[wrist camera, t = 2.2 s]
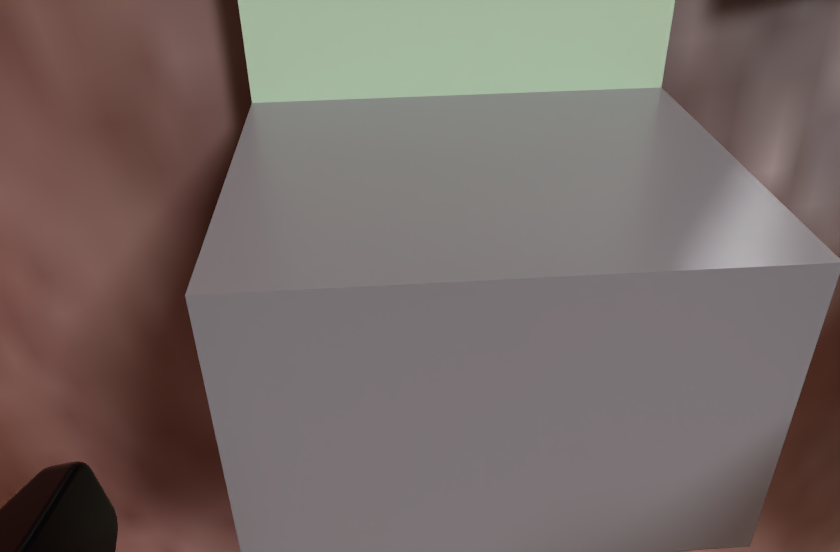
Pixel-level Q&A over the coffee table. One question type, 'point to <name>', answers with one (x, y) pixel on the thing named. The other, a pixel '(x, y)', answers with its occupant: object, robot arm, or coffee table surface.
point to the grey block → (493, 288)
